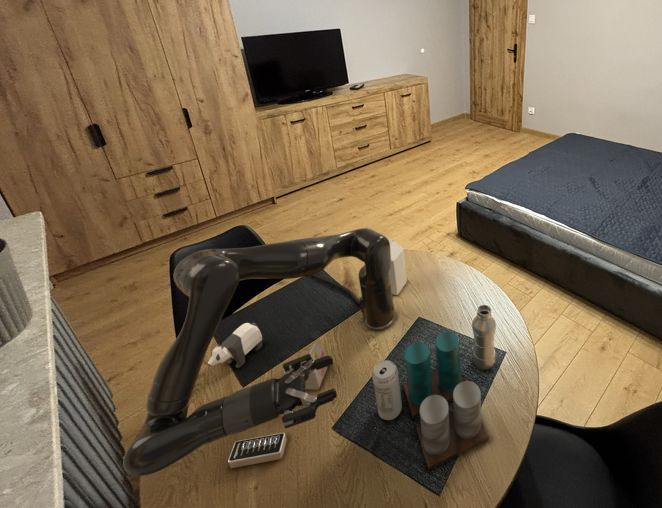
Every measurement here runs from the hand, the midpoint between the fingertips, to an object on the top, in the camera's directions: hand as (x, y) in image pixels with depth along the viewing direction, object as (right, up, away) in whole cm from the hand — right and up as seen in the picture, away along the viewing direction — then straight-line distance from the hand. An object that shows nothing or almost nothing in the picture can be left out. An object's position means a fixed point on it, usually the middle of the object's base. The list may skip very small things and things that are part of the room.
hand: (334, 375), depth 82 cm
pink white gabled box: (-12, -13, +20) cm, 26 cm away
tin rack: (+26, -18, +6) cm, 32 cm away
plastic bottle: (+35, -10, +23) cm, 43 cm away
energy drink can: (+10, -16, +11) cm, 22 cm away
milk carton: (+3, +1, +52) cm, 52 cm away
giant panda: (-37, -10, +26) cm, 46 cm away
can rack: (+21, -14, +16) cm, 30 cm away
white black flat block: (-18, -20, +3) cm, 27 cm away
